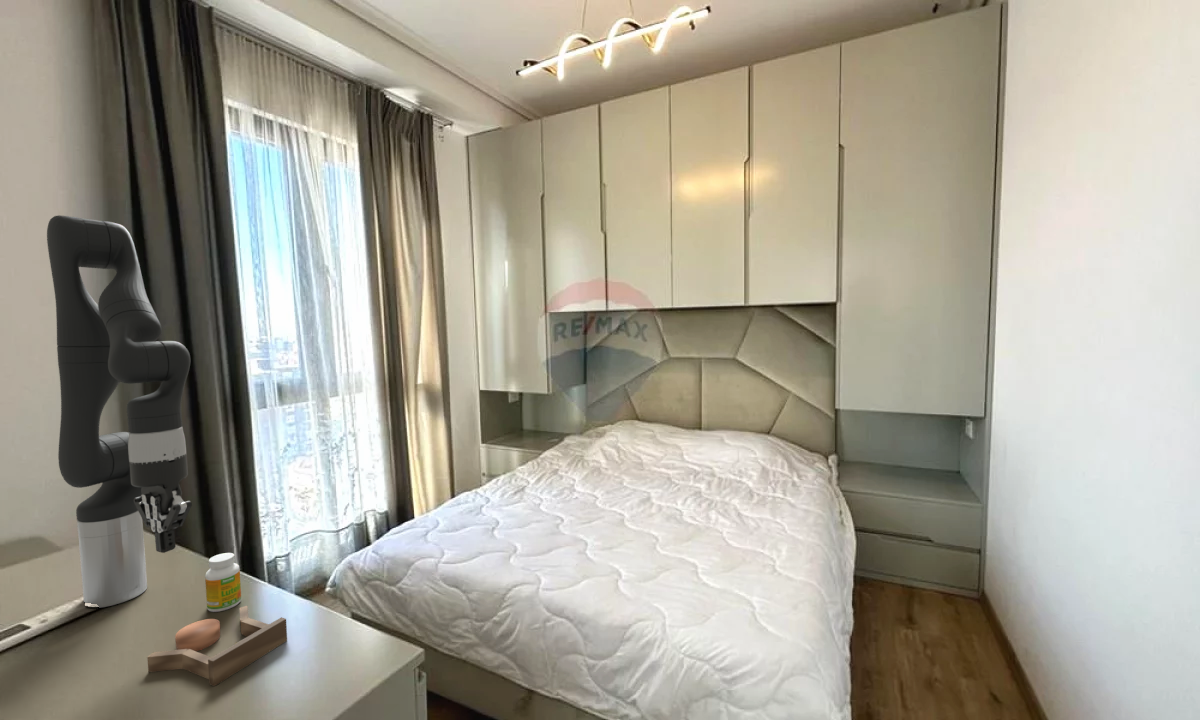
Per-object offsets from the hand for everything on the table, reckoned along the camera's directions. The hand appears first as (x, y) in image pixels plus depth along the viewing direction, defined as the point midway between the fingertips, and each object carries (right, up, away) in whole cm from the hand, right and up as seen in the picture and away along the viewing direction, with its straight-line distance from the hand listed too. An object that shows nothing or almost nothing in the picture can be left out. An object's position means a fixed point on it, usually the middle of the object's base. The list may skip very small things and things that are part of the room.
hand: (166, 550), depth 88 cm
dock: (+14, -15, -5) cm, 21 cm away
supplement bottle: (+3, -15, +9) cm, 18 cm away
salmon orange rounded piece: (+7, -15, -2) cm, 17 cm away
